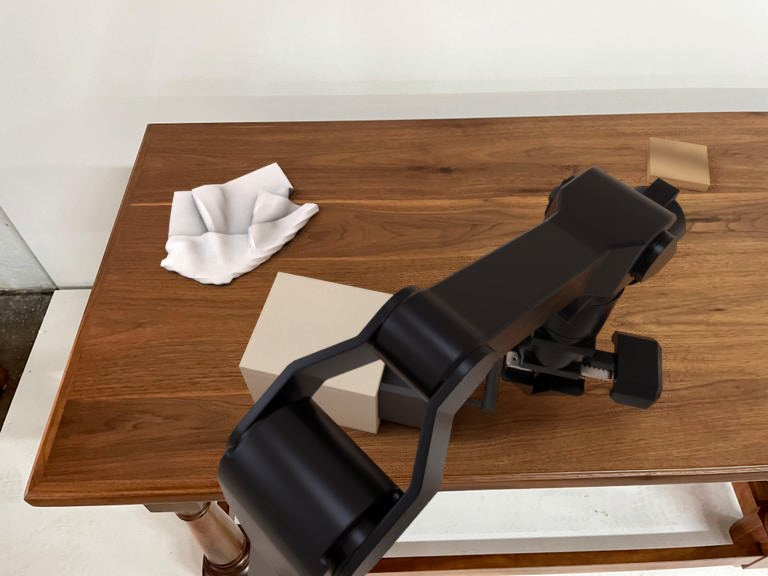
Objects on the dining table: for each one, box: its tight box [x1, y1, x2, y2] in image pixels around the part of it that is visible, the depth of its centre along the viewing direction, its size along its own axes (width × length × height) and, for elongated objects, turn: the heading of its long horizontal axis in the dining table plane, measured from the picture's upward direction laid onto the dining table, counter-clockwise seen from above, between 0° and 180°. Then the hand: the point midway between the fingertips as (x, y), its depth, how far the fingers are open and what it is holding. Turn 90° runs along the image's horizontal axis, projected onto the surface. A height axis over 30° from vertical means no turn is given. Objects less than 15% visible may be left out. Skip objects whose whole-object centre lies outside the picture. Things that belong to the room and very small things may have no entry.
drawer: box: [378, 357, 503, 429], centre depth 63 cm, size 17×10×8 cm, turn 76°
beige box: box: [238, 271, 394, 435], centre depth 64 cm, size 14×12×10 cm
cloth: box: [160, 162, 320, 286], centre depth 80 cm, size 20×22×2 cm
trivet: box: [645, 136, 711, 193], centre depth 86 cm, size 8×8×2 cm
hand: (529, 391), depth 60 cm, fingers closed
